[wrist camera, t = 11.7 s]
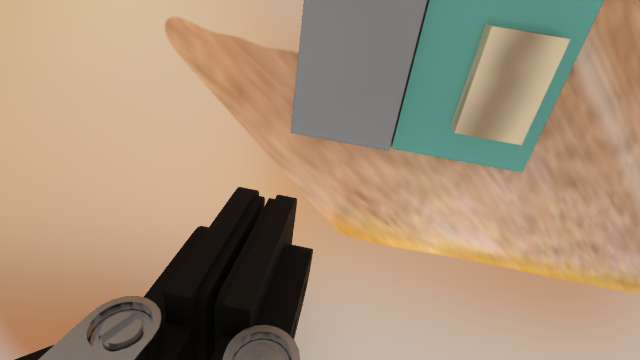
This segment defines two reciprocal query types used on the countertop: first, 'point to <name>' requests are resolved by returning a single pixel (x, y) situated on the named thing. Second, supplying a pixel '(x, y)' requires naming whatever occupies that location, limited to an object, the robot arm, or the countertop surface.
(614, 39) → the countertop surface
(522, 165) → the mat
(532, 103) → the tile
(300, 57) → the board
